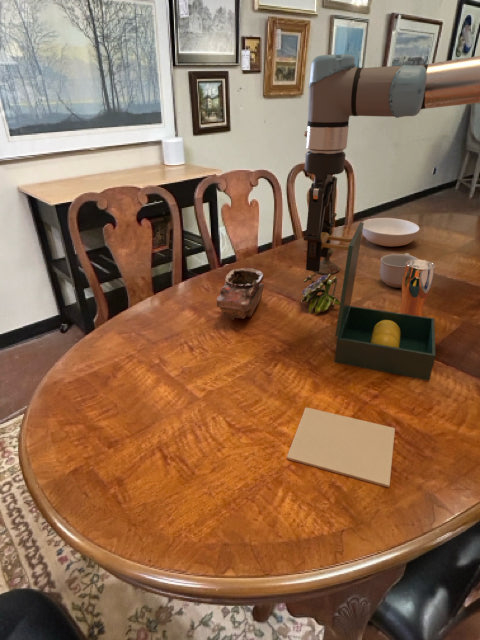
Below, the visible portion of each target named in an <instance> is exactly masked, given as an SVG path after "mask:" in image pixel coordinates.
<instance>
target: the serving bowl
mask: <svg viewBox="0 0 480 640" xmlns="http://www.w3.org/2000/svg"><path fill="white" fill-rule="evenodd" d="M362 223H364V225H363V231H362V236H363V237H364V238H365V239H366V240H367V241H369V242H370V243H372V244H375V245H377V246H382V247H387V248H390V247H392V248H394V247H402V246H406V245H408V244H410V243H412V242H413V241H414V240H415V239H416V238H417V237H418V235H419V232H420V226H419V225H418V224H417V223H415V222H412V221H409V220H406V219H401V218H395V217H394V218H393V217H373V218H369V219H365V220H364V221H362Z"/></svg>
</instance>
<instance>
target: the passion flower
mask: <svg viewBox="0 0 480 640" xmlns="http://www.w3.org/2000/svg"><path fill="white" fill-rule="evenodd" d="M316 275H317V273H316V272H313V273H311V274H310V275H308V276H307V277H306V278H305V279H304V280H303V283H306V282H308V281H311V283H310V284H309V285H307V287H306V288H305V289H303V290H301V296H302V299H301V301H300V302H301V303H304V302H306V303H309V305H308V313H310V314H311V315H313V312H314V314H315V315H318V314H319V313H321V312H322V313H324V312H326V311H327V310H328V309H329V308H330V306H331V303H332V307H333V308H335V305H337V306H340V300H339V299H338V297H337V296H335V293H336V288H337V284H338V278H337V275H334V276H333V278H331V276H332V274H329V275H321V276H320V277H319V278H317V279H316V280H314V279H312V278H313V277H315V276H316ZM330 278H331V279H330ZM333 284H334V287H333V290H332V291H333V292H332V294H329V292H330V290H331V285H333ZM323 287H324V288H323ZM319 293H321V294H319Z"/></svg>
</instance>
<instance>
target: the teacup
mask: <svg viewBox="0 0 480 640" xmlns="http://www.w3.org/2000/svg"><path fill="white" fill-rule="evenodd" d="M416 259H417V260H420V258H417V257H416V256H413V255H411V253H410V252H409V253H408V252H405V253H404V254H403V253H391V254H386V255H383V256H382V257H380V267H379V273H380V274H379V277H380V279H381V281H382V282H383V283H385V285H386V286H388V287H391V288H399V289H402V278H403V274H404V270H405V267H406V262H407V261H409V260H416Z"/></svg>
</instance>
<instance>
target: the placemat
mask: <svg viewBox="0 0 480 640" xmlns="http://www.w3.org/2000/svg"><path fill="white" fill-rule="evenodd" d="M395 432H396V427H392V426H388V425H384V424H380V423H375V422H371V421H366V420H362V419H358V418H354V417H350V416H345V415H342V414H337V413H332V412H329V411H324V410H320V409H315V408H311V407H307V406H305V408H304V409H303V413H302V416H301V419H300V421H299V424H298V426H297V429H296V432H295V435H294V437H293V440H292V442H291V445H290V448H289V450H288V452H287V455H286V460H288V461H292V462H296V463H300V464H303V465H306V466H309V467H310V466H311V467H314V468H317V469H320V470H324V471H327V472H332V473H335V474H339V475H342V476H346V477H348V478H349V477H350V478H353V479H356V480H360V481H364V482H367V483H371V484H374V485H378V486H382V487H385V488H390V485H391V475H392V466H393V465H392V464H393V454H394V445H395V444H394V443H395V434H396V433H395Z"/></svg>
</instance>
